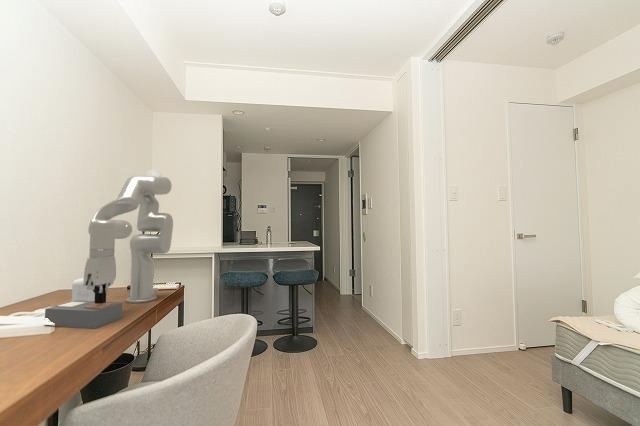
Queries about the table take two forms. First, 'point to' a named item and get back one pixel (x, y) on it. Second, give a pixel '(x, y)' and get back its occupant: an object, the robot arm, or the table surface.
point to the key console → (84, 315)
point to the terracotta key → (99, 305)
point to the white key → (72, 304)
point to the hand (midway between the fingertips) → (100, 302)
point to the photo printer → (81, 291)
